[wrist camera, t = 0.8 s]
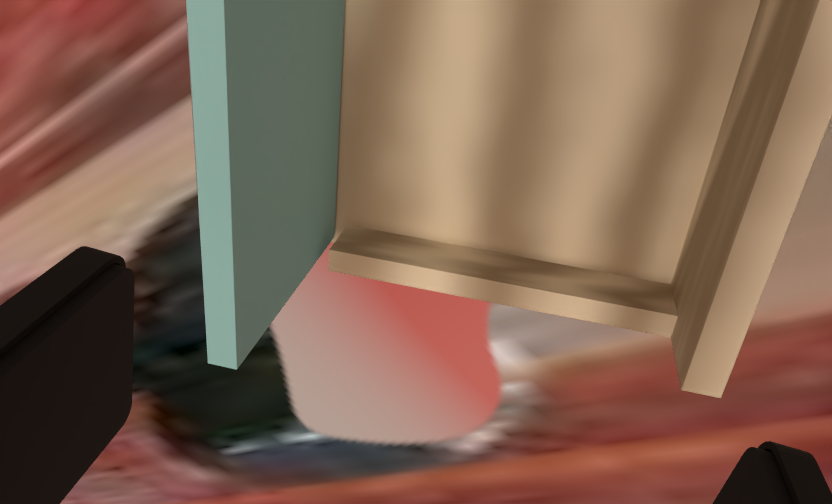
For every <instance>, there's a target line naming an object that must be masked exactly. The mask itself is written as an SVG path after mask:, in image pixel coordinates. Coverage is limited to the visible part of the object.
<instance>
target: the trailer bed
mask: <svg viewBox="0 0 832 504" xmlns="http://www.w3.org/2000/svg"><path fill="white" fill-rule="evenodd" d="M831 116H832V0H345V7H344V29H343V52H342V75H341V98H340V121H339V144H338V167H337V189H336V212H335V235H334V238H333V239H332V241H331V242H335V243H334V244H333V246H332V247H331V248H330V250H329V271H334V272H339V273H344V274H349V275H354V276H360V277H364V278H370V279H375V280H380V281H385V282H390V283H395V284H400V285H405V286H411V287H416V288H421V289H426V290H431V291H436V292H441V293H446V294H452V295H457V296H462V297H467V298H472V299H477V300H483V301H487V302H492V303H498V304H503V305H508V306H513V307H518V308H523V309H528V310H533V311H539V312H544V313H549V314H554V315H559V316H564V317H569V318H574V319H580V320H585V321H590V322H595V323H600V324H605V325H610V326H615V327H621V328H626V329H631V330H636V331H641V332H646V333H651V334H656V335H662V336H667V337H671V340H672V345H673V350H674V355H675V360H676V365H677V370H678V375H679V380H680V385H681V390H684V391H689V392H693V393H698V394H703V395H708V396H713V397H718V398H721V396H722V394H723V391H724V389H725V386H726V384H727V381H728V378H729V376H730V373H731V371H732V368H733V366H734V363H735V361H736V358H737V356H738V353H739V350H740V348H741V345H742V343H743V340H744V338H745V335H746V333H747V330H748V327H749V325H750V322H751V320H752V317H753V315H754V312H755V310H756V307H757V304H758V302H759V299H760V297H761V294H762V292H763V289H764V287H765V284H766V282H767V279H768V276H769V274H770V271H771V269H772V266H773V264H774V261H775V259H776V256H777V253H778V251H779V248H780V246H781V243H782V241H783V238H784V236H785V233H786V231H787V228H788V225H789V223H790V220H791V218H792V215H793V213H794V210H795V208H796V205H797V202H798V200H799V197H800V195H801V192H802V190H803V187H804V185H805V182H806V180H807V177H808V174H809V172H810V169H811V167H812V164H813V162H814V159H815V157H816V154H817V151H818V149H819V146H820V144H821V141H822V139H823V136H824V134H825V131H826V129H827V126H828V123H829V121H830V118H831Z"/></svg>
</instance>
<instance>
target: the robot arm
mask: <svg viewBox="0 0 832 504" xmlns="http://www.w3.org/2000/svg"><path fill="white" fill-rule="evenodd" d="M133 321H134V273H133V271H132V270H131V269H129V268H126V265H125V261H124V259H123V258H122V257H121V256H118V255H115V254H111V253H108V252H104V251H101V250H97V249H94V248H90V247H87V246H83V247H80V248H78V249H76V250H75V251H73V252H72V253H71V254H69V255H68V256H67V257H65V258H64V259H63V260H61V261H60V262H59V263H57V264H56V265H55V266H53V267H52V268H51V269H49V270H48V271H46V272H45V273H44V274H42V275H41V276H40V277H38V278H37V279H36V280H34V281H33V282H32V283H30V284H29V285H28V286H26V287H25V288H24V289H22V290H21V291H19V292H18V293H17V294H15V295H14V296H13V297H11V298H10V299H9V300H7V301H6V302H5V303H3V304H2V305H1V306H0V504H60V503H61V501H62V500H63V499H64V498H65V497H66V495H67V494H68V493H69V492H70V490H71V489H72V488H73V487H74V485H75V484H76V483H77V482H78V480H79V479H80V478H81V477H82V476H83V474H84V473H85V472H86V471H87V469H88V468H89V467H90V466H91V464H92V463H93V462H94V461H95V460H96V458H97V457H98V456H99V455H100V453H101V452H102V451H103V450H104V448H105V447H106V446H107V445H108V444H109V442H110V441H111V440H112V439H113V437H114V436H115V435H116V434H117V432H118V431H119V430H120V429H121V427H122V426H123V425H124V423H125V421H126V420H127V418H128V415H129V413H130V409H131V405H132V375H133ZM713 504H832V494H831V491H830V489H829V487H828V485H827V483H826V481H825V479H824V477H823V474H822V472H821V470H820V468H819V466H818V464H817V462H816V460H815V458H814V457H813V455H812V454H810V453H808V452H806V451H802V450H799V449H795V448H792V447H788V446H785V445H781V444H778V443H774V442H771V441H769V442H764V443H763V444H761V445H760V446H759V447H758V448H755V447H750V448H748V449H747V450H746V451H745V452H744V454H743V455H742V457H741V459H740V460H739V462H738V463H737V465H736V467H735V468H734V470H733V471H732V473H731V475H730V476H729V478H728V480H727V481H726V483H725V484H724V486H723V488H722V489H721V491H720V493H719V494H718V496H717V497H716V499H715V501H714V502H713Z"/></svg>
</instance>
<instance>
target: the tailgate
mask: <svg viewBox="0 0 832 504" xmlns="http://www.w3.org/2000/svg"><path fill="white" fill-rule="evenodd" d="M186 4H187V21H188V23H187V32H188V48H189V65H190V81H191V98H192V114H193V131H194V147H195V164H196V181H197V193H198V204H199V221H200V237H201V254H202V271H203V287H204V304H205V321H206V337H207V354H208V363H210V364H214V365H219V366H223V367H228V368H232V369H238V367H239V366H240V365H241V363H242V362H243V360H244V359H245V358H246V356H247V355H248V354H249V352H250V351H251V350H252V348H253V347H254V346H255V344H256V343H257V341H258V340H259V339H260V337H261V336H262V335H263V333H264V332H265V331H266V329H267V328H268V326H269V325H270V324H271V322H272V321H273V320H274V318H275V317H276V315H277V314H278V313H279V312H280V310H281V309H282V307H283V306H284V305H285V303H286V302H287V301H288V299H289V298H290V297H291V295H292V294H293V292H294V291H295V290H296V288H297V287H298V286H299V284H300V283H301V282H302V280H303V279H304V278H305V276H306V275H307V273H308V272H309V271H310V269H311V268H312V267H313V265H314V264H315V263H316V261H317V260H318V258H319V257H320V256H321V254H322V253H323V252H324V250H325V249H326V248H327V246H328V245H329V244H330V242H331V241H332V239H333V238H334V235H335V212H336V189H337V167H338V144H339V121H340V98H341V75H342V52H343V29H344V7H345V0H186Z"/></svg>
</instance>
